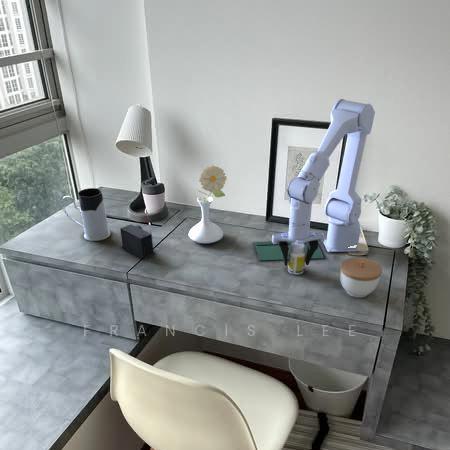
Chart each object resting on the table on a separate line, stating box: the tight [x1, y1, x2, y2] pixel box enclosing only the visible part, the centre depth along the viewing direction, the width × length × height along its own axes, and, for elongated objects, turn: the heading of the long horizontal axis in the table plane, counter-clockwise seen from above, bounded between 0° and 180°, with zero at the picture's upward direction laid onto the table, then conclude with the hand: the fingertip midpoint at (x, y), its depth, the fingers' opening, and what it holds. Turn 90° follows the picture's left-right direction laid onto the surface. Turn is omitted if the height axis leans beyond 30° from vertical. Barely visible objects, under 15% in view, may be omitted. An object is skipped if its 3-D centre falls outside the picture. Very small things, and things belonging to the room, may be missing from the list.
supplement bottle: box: [287, 243, 306, 275], centre depth 140 cm, size 5×5×8 cm
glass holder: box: [60, 187, 111, 242], centre depth 158 cm, size 9×14×15 cm, turn 89°
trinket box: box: [339, 256, 383, 298], centre depth 130 cm, size 11×11×9 cm
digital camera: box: [120, 223, 154, 259], centre depth 152 cm, size 10×5×7 cm, turn 47°
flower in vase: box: [188, 165, 228, 244], centre depth 152 cm, size 13×11×25 cm
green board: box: [254, 240, 325, 262], centre depth 152 cm, size 20×12×1 cm, turn 93°
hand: (296, 263), depth 141 cm, fingers open, 6 cm apart
